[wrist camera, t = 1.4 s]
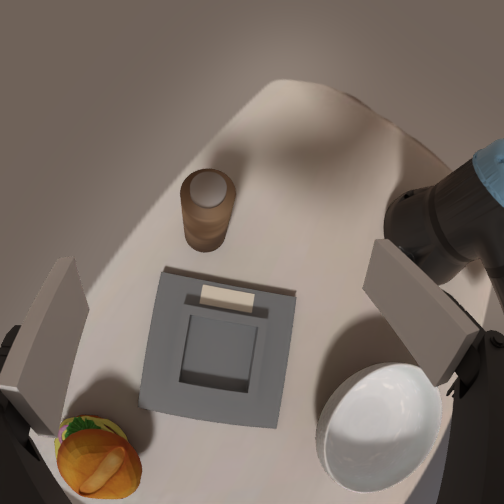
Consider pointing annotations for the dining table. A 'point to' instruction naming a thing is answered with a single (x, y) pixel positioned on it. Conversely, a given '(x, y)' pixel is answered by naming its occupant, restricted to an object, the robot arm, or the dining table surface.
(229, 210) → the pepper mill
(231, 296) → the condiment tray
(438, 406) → the cereal bowl
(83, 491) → the cheeseburger
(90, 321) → the dining table surface
